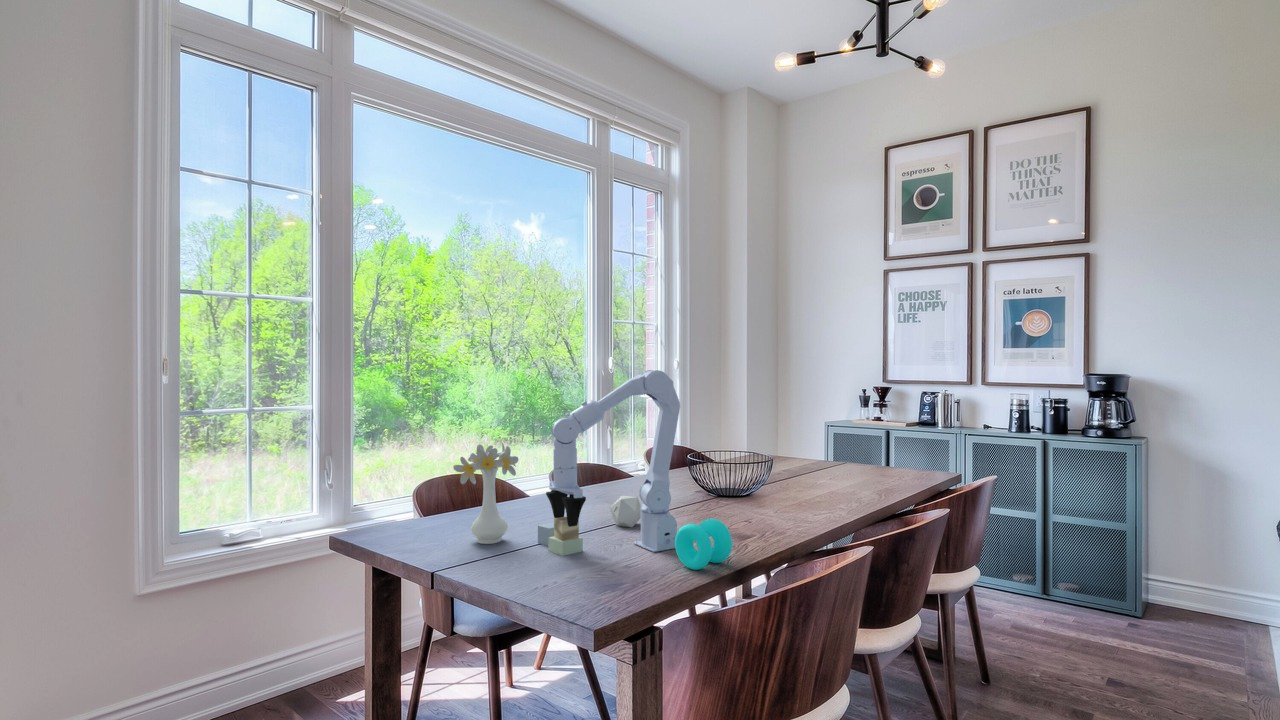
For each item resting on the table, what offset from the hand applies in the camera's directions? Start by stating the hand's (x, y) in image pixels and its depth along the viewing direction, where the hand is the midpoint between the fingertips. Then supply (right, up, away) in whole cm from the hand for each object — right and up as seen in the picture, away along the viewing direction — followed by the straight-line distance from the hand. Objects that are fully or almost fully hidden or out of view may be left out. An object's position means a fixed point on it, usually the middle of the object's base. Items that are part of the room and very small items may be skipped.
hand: (565, 522), depth 164 cm
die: (+14, -7, +26) cm, 30 cm away
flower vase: (-21, -7, +8) cm, 23 cm away
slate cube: (-5, -7, +8) cm, 11 cm away
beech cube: (0, -4, 0) cm, 4 cm away
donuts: (+33, -7, -13) cm, 36 cm away
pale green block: (0, -7, 0) cm, 7 cm away
